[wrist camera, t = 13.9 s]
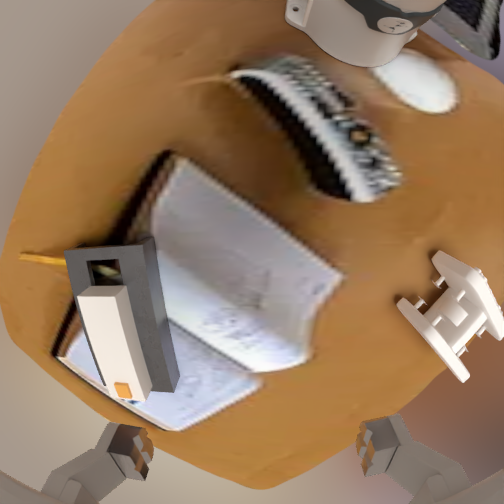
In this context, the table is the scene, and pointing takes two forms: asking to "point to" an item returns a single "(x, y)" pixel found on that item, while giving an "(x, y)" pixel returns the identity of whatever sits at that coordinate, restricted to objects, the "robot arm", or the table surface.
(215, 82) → the table surface
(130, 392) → the power strip
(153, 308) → the keyhole plate
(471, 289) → the cable organizer
